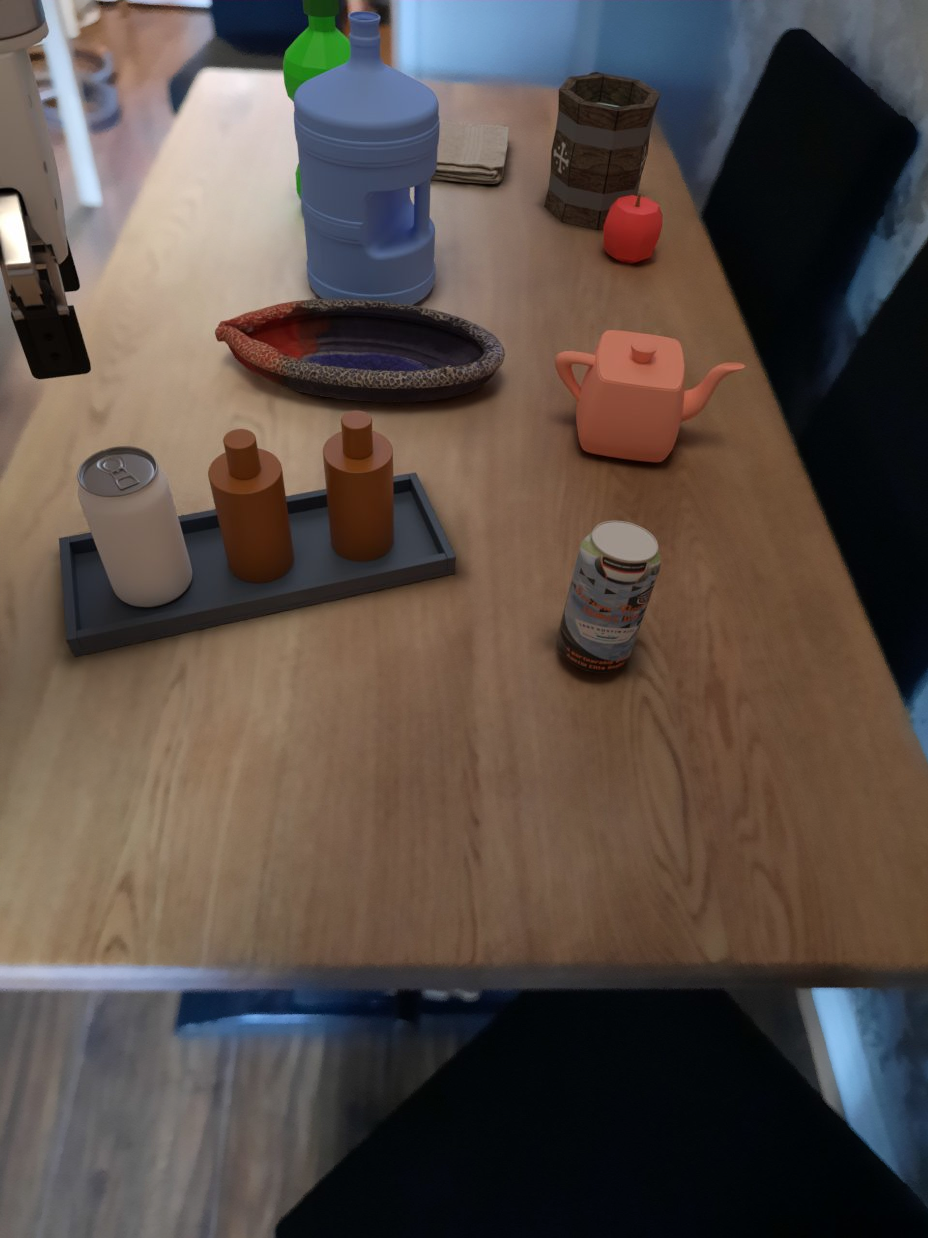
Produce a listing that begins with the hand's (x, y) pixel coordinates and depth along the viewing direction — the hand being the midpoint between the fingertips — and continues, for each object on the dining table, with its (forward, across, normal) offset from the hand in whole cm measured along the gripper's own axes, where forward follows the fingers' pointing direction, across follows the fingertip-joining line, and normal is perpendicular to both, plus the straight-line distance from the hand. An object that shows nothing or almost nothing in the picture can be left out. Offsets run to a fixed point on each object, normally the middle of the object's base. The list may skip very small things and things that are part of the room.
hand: (58, 330), depth 53 cm
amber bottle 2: (+24, -1, +19) cm, 30 cm away
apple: (+23, -44, +67) cm, 84 cm away
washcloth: (+23, -77, +56) cm, 98 cm away
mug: (+23, -61, +69) cm, 95 cm away
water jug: (+24, -45, +32) cm, 60 cm away
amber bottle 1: (+24, -1, +10) cm, 26 cm away
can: (+24, -1, +1) cm, 24 cm away
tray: (+24, -1, +10) cm, 26 cm away
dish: (+24, -27, +26) cm, 45 cm away
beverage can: (+24, +16, +34) cm, 45 cm away
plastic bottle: (+24, -65, +32) cm, 76 cm away
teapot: (+24, -9, +50) cm, 56 cm away
